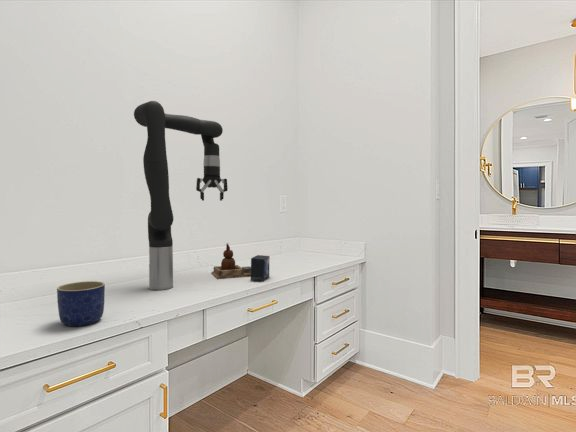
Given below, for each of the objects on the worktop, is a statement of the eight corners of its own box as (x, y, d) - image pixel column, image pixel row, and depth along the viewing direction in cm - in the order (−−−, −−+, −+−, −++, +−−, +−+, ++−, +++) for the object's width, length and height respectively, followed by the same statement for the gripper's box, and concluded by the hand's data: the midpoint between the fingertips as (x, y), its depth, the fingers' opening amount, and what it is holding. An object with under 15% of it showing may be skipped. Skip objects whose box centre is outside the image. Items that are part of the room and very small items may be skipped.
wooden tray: (217, 279, 172) (217, 271, 172) (211, 273, 185) (211, 266, 185) (258, 275, 180) (258, 268, 180) (250, 270, 193) (250, 263, 192)
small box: (264, 282, 166) (264, 258, 166) (250, 281, 167) (250, 258, 167) (270, 277, 176) (270, 255, 176) (256, 276, 178) (256, 254, 177)
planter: (47, 326, 108) (46, 288, 107) (84, 313, 119) (84, 279, 119) (79, 331, 103) (78, 292, 103) (114, 318, 115) (114, 283, 114)
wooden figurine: (228, 274, 177) (228, 243, 176) (219, 273, 180) (218, 242, 179) (237, 272, 182) (237, 241, 182) (228, 271, 185) (228, 241, 185)
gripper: (197, 164, 169) (198, 200, 169) (228, 165, 174) (228, 200, 175) (195, 166, 176) (195, 200, 176) (225, 167, 181) (225, 200, 182)
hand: (212, 200), depth 176 cm, fingers open, 8 cm apart
